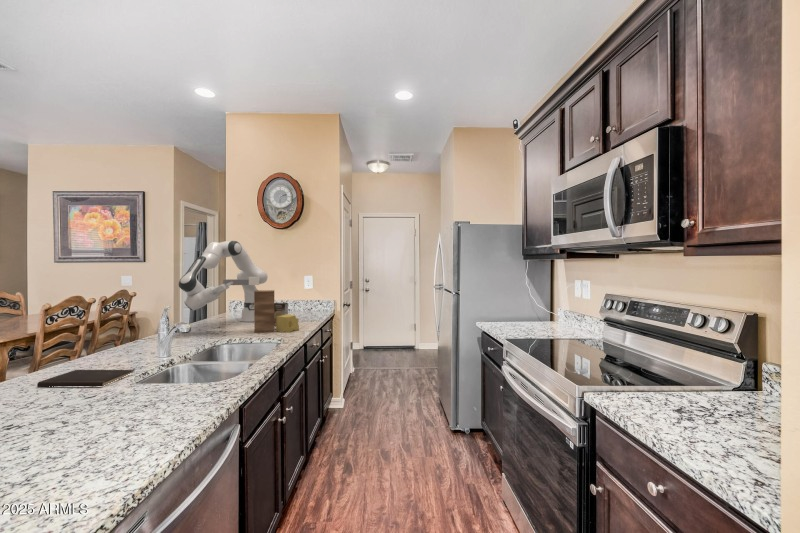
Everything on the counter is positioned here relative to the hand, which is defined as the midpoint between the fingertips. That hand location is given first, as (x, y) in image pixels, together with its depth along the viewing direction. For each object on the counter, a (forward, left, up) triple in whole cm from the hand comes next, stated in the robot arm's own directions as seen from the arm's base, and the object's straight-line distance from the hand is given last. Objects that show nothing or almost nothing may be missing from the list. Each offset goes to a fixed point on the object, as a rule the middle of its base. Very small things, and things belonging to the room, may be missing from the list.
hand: (233, 281), depth 240 cm
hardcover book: (+91, -41, -33) cm, 105 cm away
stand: (0, +19, -32) cm, 37 cm away
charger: (0, +5, -2) cm, 5 cm away
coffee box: (-18, +29, -32) cm, 47 cm away
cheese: (+4, +33, -32) cm, 46 cm away
